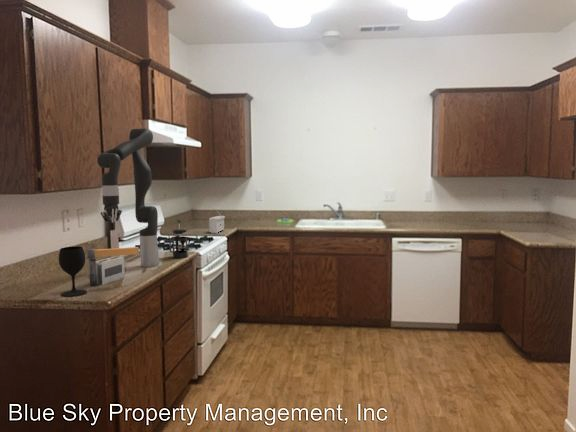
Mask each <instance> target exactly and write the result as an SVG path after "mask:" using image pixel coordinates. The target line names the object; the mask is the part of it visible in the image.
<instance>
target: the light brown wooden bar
mask: <svg viewBox="0 0 576 432" xmlns="http://www.w3.org/2000/svg"><path fill="white" fill-rule="evenodd" d="M139 249H140V247H139V246H132V247H129V246H128V247H118V248H117V247H115V248H100V249H99V248H98V249H97V248H88V249H86V256H87V258H86V259H88V260H89V259H94V258H95V259H97V258H102V257H103V258H104V257H120V256H129V255H130V256H131V255H133V256H134V255H139V254H140V250H139Z"/></svg>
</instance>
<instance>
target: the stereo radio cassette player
mask: <svg viewBox="0 0 576 432" xmlns="http://www.w3.org/2000/svg"><path fill="white" fill-rule="evenodd" d="M216 212H217V213H218V214H219V215H215V216H213V217H210V218H209V219H208V231H209V233H210V232H211V233H212V234H219V233H220V232H219V231H221V230H224V231H225V218H226V215H221V214H220V212H219V211H218V210H216ZM218 232H219V233H218ZM211 233H210V234H211Z"/></svg>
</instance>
